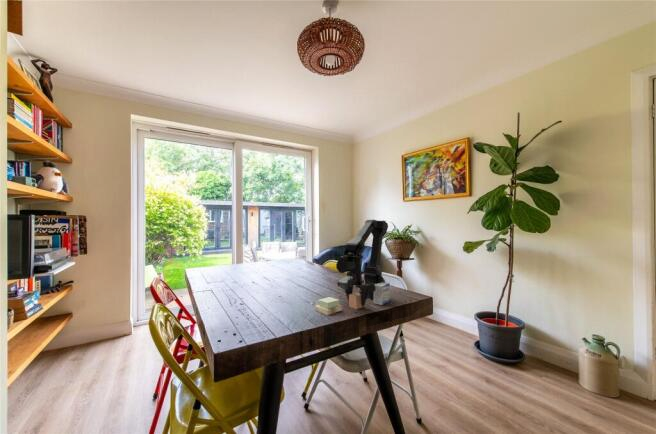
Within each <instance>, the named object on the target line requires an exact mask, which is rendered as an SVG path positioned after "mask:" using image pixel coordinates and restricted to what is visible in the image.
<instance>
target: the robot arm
mask: <svg viewBox="0 0 656 434" xmlns="http://www.w3.org/2000/svg"><path fill="white" fill-rule="evenodd" d="M388 228H389V224H388V222H387V221H386V220H376V219H366V220H365V222H364V224H363V226H362V227H361V229H360V231H359V232H358V233H357V234H356V236H355V237H353V238H350V239H349V240H348V241H347V243H346V244H345V247H344V250H343V252H342V256H340V257H339V259H338V260H337V262H336V265H335V266H336V270H337V272H339V273H340V274H344V273H346V276H344V277H341V278H340V279H337V280H338V281H337V286H338V287H339V288H340V289H342V290H343V291H344V293H345V296H346V298H347V301H348V302H349V294H353V293H354V292H353V289H354V288H357V289H359V291H358V293H359V294H360V295H361V305H362V307H361V308H363V307H365V304H366V303H367V302H366V301H367V300H368V299H372V300H374V291H376V287H375V285H376V284H378V283H381V282H386V280H385V278H384V277H383V272H382V269H381V266H380V263H381V256H382V255H381V254H382V248H383V239H384V237H385V236H386V235H387V233H388ZM370 235H372V242H371V249H370V250H371V251H370V256H369V257H370V258H369V264H368V265H367V266H364V271H362V259H364V256H363V255H362V254H363V252H364V250H365V249H366V245H365V243H366V242H367V240H368V238H369V236H370ZM362 276H363V277H362Z"/></svg>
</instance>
